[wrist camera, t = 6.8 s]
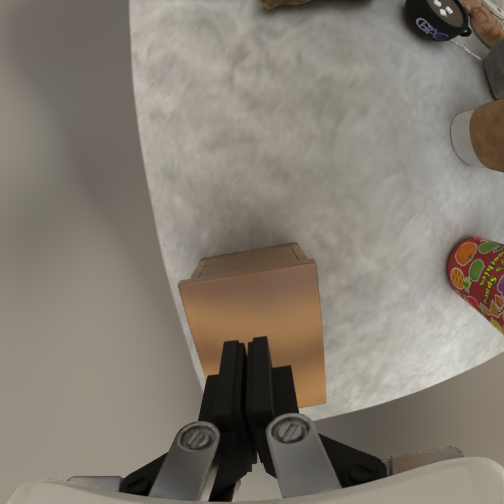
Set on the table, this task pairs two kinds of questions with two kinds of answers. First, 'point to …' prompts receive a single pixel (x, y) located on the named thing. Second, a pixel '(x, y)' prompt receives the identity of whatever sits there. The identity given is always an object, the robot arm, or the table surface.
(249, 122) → the table surface
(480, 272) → the smoothie
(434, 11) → the mug
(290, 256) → the box
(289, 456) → the robot arm
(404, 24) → the table surface
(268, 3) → the rock
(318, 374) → the lid
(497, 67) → the stone
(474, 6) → the figurine
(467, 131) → the coffee cup
